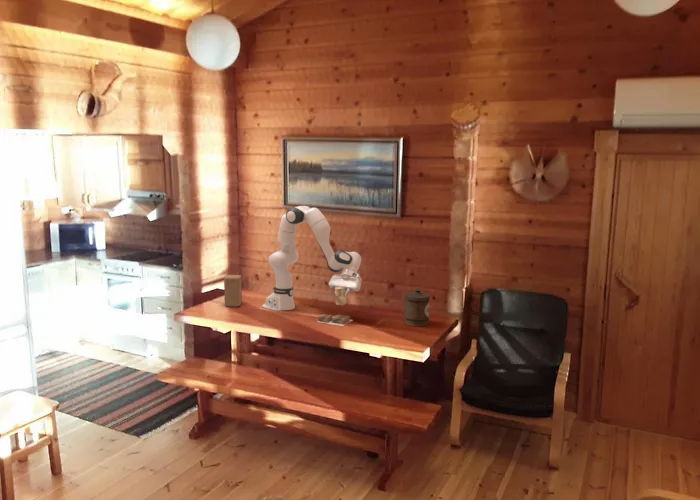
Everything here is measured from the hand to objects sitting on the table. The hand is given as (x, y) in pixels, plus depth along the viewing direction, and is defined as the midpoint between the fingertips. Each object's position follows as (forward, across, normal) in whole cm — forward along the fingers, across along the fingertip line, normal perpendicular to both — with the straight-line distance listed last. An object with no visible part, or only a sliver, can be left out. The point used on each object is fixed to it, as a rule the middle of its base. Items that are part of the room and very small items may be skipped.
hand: (340, 294), depth 359 cm
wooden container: (-4, +40, +31) cm, 51 cm away
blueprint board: (+12, -4, +13) cm, 19 cm away
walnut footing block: (+13, -10, +11) cm, 20 cm away
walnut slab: (+12, 0, +12) cm, 17 cm away
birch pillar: (+4, 0, +5) cm, 6 cm away
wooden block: (+11, -84, +15) cm, 86 cm away
